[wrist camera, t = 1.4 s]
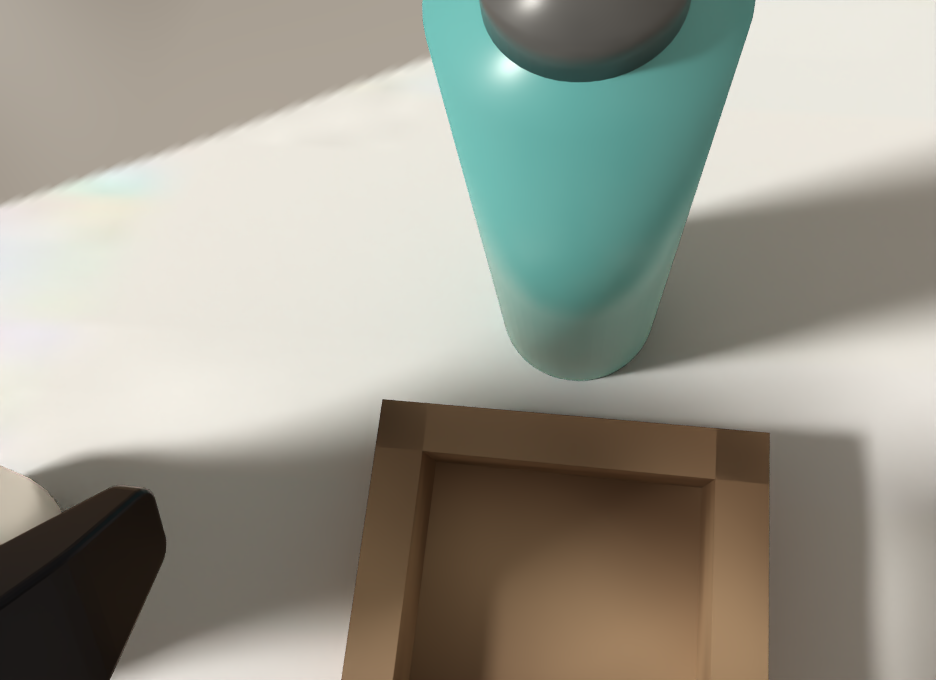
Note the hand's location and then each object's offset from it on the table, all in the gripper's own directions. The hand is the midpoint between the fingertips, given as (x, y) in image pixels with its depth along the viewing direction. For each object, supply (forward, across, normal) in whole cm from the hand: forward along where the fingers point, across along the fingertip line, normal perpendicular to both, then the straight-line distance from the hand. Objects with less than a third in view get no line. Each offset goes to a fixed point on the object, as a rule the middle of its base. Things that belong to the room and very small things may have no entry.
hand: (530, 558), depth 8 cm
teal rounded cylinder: (+14, 0, +4) cm, 15 cm away
